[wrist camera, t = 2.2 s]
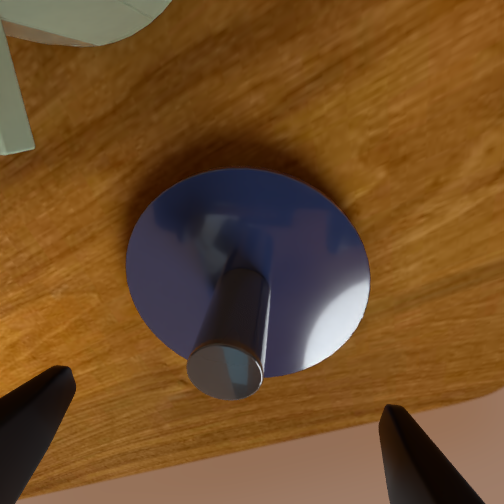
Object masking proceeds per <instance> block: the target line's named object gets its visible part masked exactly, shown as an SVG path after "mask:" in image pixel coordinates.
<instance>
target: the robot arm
mask: <svg viewBox="0 0 504 504" xmlns="http://www.w3.org/2000/svg"><path fill="white" fill-rule="evenodd" d="M75 391H76V383H75V380H74V377H73V374H72V371H71V369H70V368H69V367H67V366H59V365H56V366H53V367H51V368H49V369H48V370H46V371H44V372H43V373H41V374H39V375H38V376H36V377H34V378H33V379H31V380H29V381H28V382H26V383H24V384H23V385H21V386H19V387H18V388H16V389H15V390H13V391H11V392H10V393H8V394H6V395H5V396H3V397H1V398H0V504H15V503H16V501H17V500H18V498H19V496H20V495H21V493H22V491H23V490H24V488H25V486H26V485H27V483H28V481H29V480H30V478H31V476H32V475H33V473H34V471H35V470H36V468H37V466H38V465H39V463H40V461H41V460H42V458H43V456H44V454H45V453H46V451H47V449H48V447H49V445H50V444H51V442H52V440H53V438H54V436H55V434H56V432H57V429H58V427H59V425H60V423H61V421H62V419H63V417H64V415H65V413H66V411H67V409H68V407H69V405H70V403H71V401H72V399H73V397H74V394H75ZM379 436H380V443H381V449H382V456H383V463H384V470H385V476H386V483H387V489H388V495H389V500H390V504H485V503H484V502H483V500H482V499H481V498H480V497H479V496H478V495H477V493H476V492H475V491H474V490H473V489H472V487H471V486H470V485H469V484H468V483H467V482H466V480H465V479H464V478H463V477H462V476H461V475H460V473H459V472H458V471H457V470H456V468H455V467H454V466H453V465H452V464H451V463H450V462H449V460H448V459H447V458H446V457H445V455H444V454H443V453H442V452H441V451H440V450H439V448H438V447H437V446H436V445H435V444H434V443H433V441H432V440H431V439H430V438H429V437H428V435H427V434H426V433H425V432H424V431H423V429H422V428H421V427H420V426H419V425H418V424H417V422H416V421H415V420H414V419H413V418H412V416H411V415H410V414H409V413H408V412H407V411H406V409H405V408H404V407H402V406H399V405H391V404H387V405H386V406H385V408H384V411H383V413H382V416H381V419H380V422H379Z"/></svg>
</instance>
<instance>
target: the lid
mask: <svg viewBox="0 0 504 504" xmlns="http://www.w3.org/2000/svg"><path fill="white" fill-rule="evenodd" d="M126 276H127V283H128V287H129V291H130V294H131V297H132V299H133V302H134V304H135V307H136V308H137V310H138V312H139V314H140V316H141V318H142V319H143V320H144V322H145V323H146V325H147V326H148V327H149V329H150V330H151V331H152V332H153V333H154V334H155V335H156V336H157V337H158V338H159V339H160V340H161V341H162V342H163V343H164V344H165V345H166V346H168V347H169V348H170V349H172V350H173V351H174V352H176V353H177V354H178V355H180V356H182V357H184V358H185V359H187V374H188V377H189V379H190V380H191V382H192V383H193V384H194V386H195V387H197V388H198V389H199V390H200V391H202V392H203V393H205V394H207V395H209V396H211V397H214V398H218V399H222V400H239V399H243V398H246V397H249V396H251V395H252V394H254V393H255V392H256V391H257V390H258V389H259V388H260V386H261V384H262V382H263V378H268V377H276V376H283V375H287V374H291V373H295V372H298V371H301V370H304V369H307V368H309V367H311V366H313V365H315V364H318V363H319V362H321V361H323V360H324V359H326V358H328V357H329V356H331V355H332V354H333V353H334V352H336V351H337V350H338V349H339V348H340V347H341V346H342V345H343V344H344V343H345V342H346V341H347V340H348V339H349V338H350V337H351V335H352V334H353V332H354V331H355V330H356V328H357V327H358V325H359V323H360V321H361V319H362V317H363V315H364V312H365V309H366V306H367V303H368V298H369V292H370V269H369V262H368V258H367V254H366V251H365V248H364V245H363V243H362V241H361V239H360V237H359V235H358V233H357V231H356V229H355V227H354V225H353V224H352V223H351V221H350V220H349V218H348V217H347V216H346V214H345V213H344V212H343V211H342V210H341V209H340V207H339V206H338V205H337V204H336V203H335V202H334V201H333V200H332V199H330V198H329V197H328V196H327V195H325V194H324V193H323V192H321V191H320V190H319V189H317V188H316V187H314V186H312V185H310V184H309V183H307V182H305V181H304V180H302V179H299V178H297V177H294V176H292V175H289V174H287V173H284V172H280V171H277V170H273V169H269V168H263V167H255V166H225V167H218V168H212V169H208V170H205V171H201V172H198V173H195V174H193V175H190V176H188V177H186V178H184V179H182V180H180V181H178V182H177V183H175V184H173V185H172V186H170V187H169V188H167V189H166V190H165V191H163V192H162V193H161V194H160V195H159V196H158V197H156V198H155V199H154V200H153V201H152V202H151V203H150V204H149V205H148V207H147V208H146V209H145V210H144V212H143V213H142V214H141V216H140V218H139V219H138V221H137V223H136V224H135V226H134V229H133V231H132V234H131V236H130V239H129V243H128V248H127V253H126Z"/></svg>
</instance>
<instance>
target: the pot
mask: <svg viewBox="0 0 504 504" xmlns="http://www.w3.org/2000/svg"><path fill="white" fill-rule="evenodd" d="M171 1H172V0H0V155H10V154H15V153H20V152H24V151H29V150H33V149H35V143H34V139H33V135H32V132H31V128H30V124H29V120H28V117H27V113H26V109H25V106H24V102H23V98H22V95H21V91H20V87H19V83H18V80H17V76H16V72H15V69H14V65H13V61H12V58H11V54H10V50H9V46H8V43H7V39H6V36H11V37H15V38H20V39H25V40H29V41H34V42H38V43H43V44H48V45H67V46H76V47H92V46H101V45H106V44H110V43H114V42H117V41H120V40H122V39H124V38H127V37H129V36H131V35H133V34H135V33H136V32H138V31H139V30H141V29H143V28H144V27H146V26H147V25H148V24H150V23H151V22H152V21H153V20H154V19H155V18H156V17H157V16H159V15H160V14H161V13H162V12H163V11H164V9H165V8H166V7H167V6H168V5H169V3H170V2H171Z"/></svg>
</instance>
